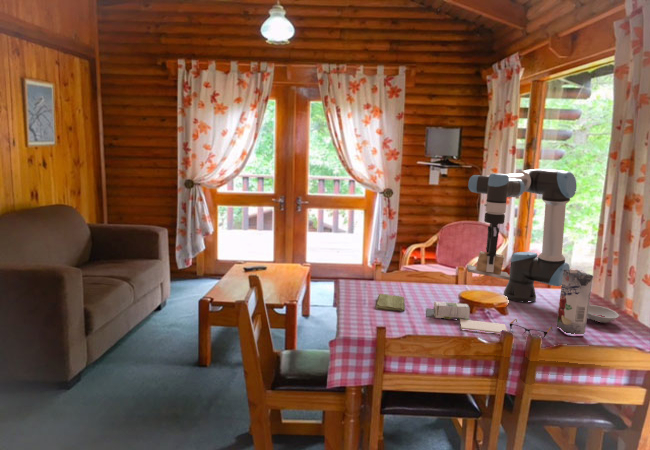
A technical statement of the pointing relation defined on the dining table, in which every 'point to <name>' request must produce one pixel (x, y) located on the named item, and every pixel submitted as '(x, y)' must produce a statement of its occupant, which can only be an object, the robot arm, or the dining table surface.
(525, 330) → the eyeglasses
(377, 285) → the dining table surface
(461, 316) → the syrup box
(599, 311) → the dish
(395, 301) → the washcloth
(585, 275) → the juice carton
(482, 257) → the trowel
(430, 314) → the mat
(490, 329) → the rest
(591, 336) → the dining table surface
